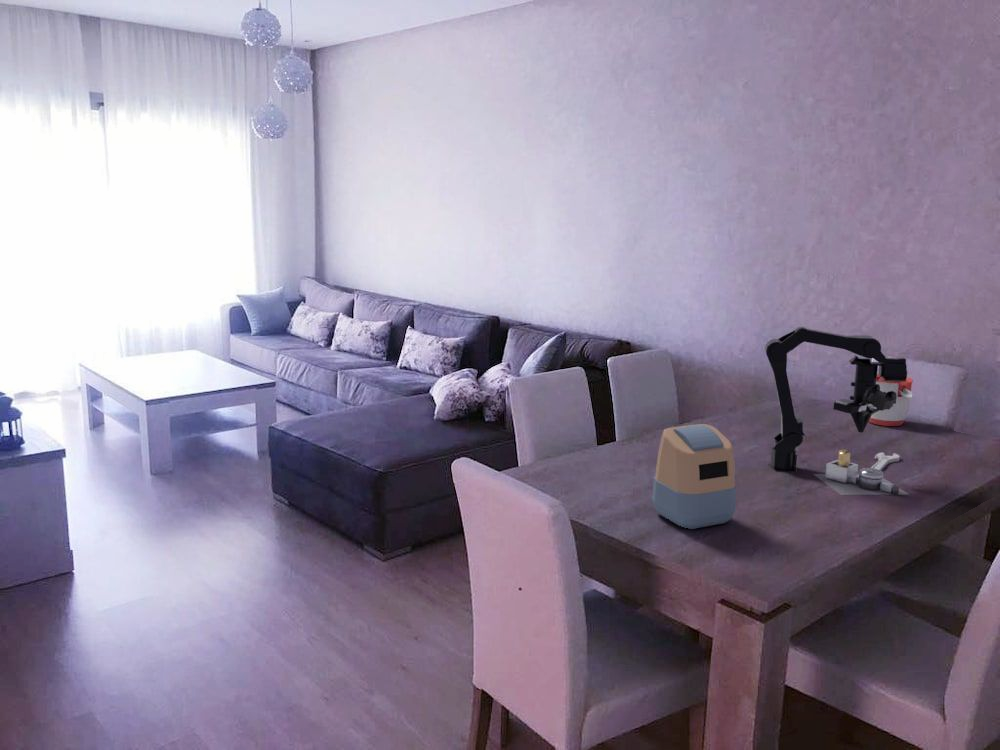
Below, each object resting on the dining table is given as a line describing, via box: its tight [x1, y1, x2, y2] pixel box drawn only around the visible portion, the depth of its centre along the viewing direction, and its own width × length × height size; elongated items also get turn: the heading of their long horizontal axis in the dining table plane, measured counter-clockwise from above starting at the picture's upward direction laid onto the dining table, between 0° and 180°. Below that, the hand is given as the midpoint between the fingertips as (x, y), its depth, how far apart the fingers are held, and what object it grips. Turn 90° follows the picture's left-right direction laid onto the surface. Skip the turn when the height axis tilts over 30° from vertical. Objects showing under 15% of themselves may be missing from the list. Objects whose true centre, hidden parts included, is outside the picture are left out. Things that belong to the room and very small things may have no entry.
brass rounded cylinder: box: [837, 448, 851, 467], centre depth 230 cm, size 3×3×8 cm
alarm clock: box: [651, 423, 737, 530], centre depth 201 cm, size 17×17×23 cm
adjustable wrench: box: [870, 452, 901, 471], centre depth 246 cm, size 25×6×2 cm, turn 138°
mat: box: [813, 473, 909, 496], centre depth 229 cm, size 19×18×1 cm
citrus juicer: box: [868, 373, 914, 427], centre depth 294 cm, size 16×17×20 cm
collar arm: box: [825, 459, 900, 494], centre depth 227 cm, size 20×6×4 cm, turn 39°
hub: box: [858, 467, 884, 491], centre depth 225 cm, size 6×6×5 cm
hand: (860, 432), depth 235 cm, fingers closed
